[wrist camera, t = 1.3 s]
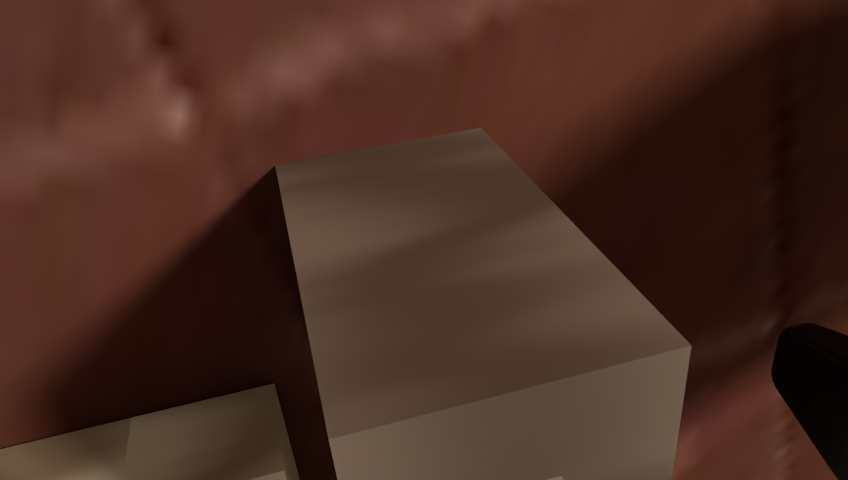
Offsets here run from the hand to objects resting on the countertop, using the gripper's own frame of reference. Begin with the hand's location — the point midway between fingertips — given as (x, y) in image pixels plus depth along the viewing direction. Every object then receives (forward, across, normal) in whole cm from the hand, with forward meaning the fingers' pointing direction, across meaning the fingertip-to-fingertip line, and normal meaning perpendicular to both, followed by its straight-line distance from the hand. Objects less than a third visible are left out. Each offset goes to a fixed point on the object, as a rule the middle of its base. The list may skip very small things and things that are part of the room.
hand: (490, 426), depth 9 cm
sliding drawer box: (+6, 0, 0) cm, 6 cm away
